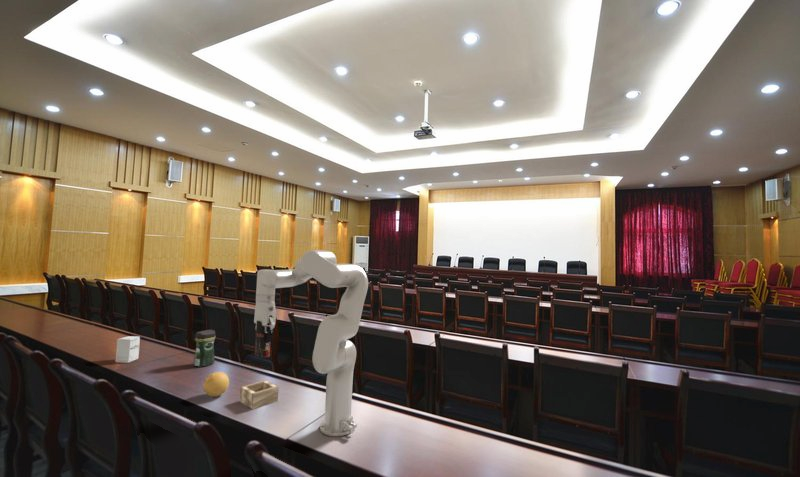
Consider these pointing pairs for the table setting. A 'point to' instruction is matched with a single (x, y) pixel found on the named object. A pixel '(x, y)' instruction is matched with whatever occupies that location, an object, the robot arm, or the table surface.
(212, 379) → the stress ball
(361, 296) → the robot arm
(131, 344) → the supplement box
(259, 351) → the deodorant
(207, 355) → the coffee jar
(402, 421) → the table surface
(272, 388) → the wooden box
